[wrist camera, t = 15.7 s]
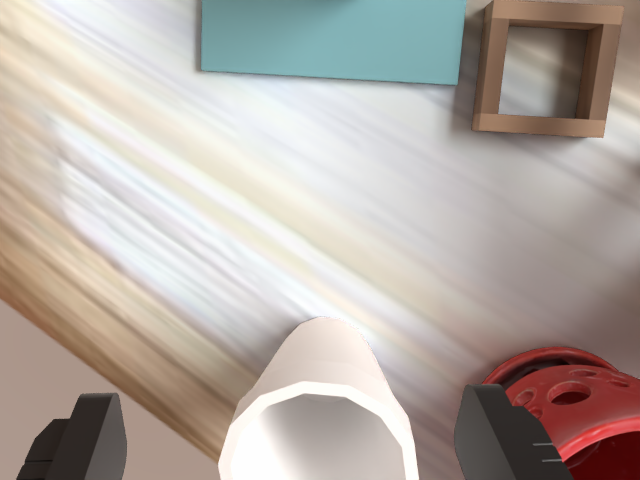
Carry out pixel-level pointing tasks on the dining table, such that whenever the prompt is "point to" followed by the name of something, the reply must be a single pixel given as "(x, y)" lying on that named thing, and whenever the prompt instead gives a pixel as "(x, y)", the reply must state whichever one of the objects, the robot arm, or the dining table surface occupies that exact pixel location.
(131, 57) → the dining table surface
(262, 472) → the foam cup
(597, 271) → the dining table surface
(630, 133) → the dining table surface
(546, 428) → the plant pot
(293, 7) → the teal mat
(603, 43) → the walnut stand
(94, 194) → the dining table surface
